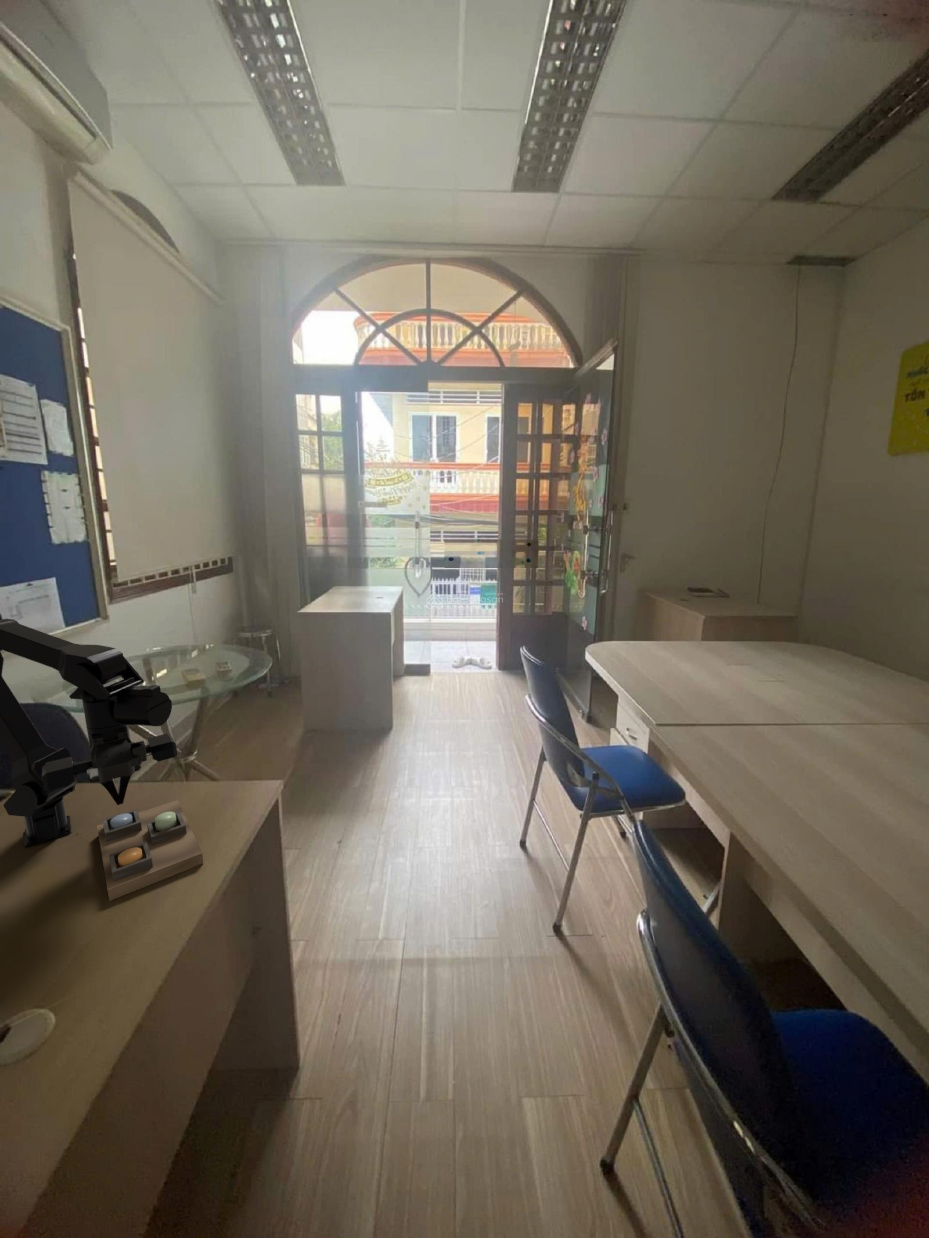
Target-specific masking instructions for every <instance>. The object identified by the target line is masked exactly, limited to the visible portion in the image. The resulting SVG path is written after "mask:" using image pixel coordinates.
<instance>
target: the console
mask: <svg viewBox="0 0 929 1238" xmlns="http://www.w3.org/2000/svg"><path fill="white" fill-rule="evenodd" d="M165 812H174V813H175V814H176V821H177V823H176V825H175V826H174V827H172V828H170V829H168V830H164V831H159V830H156V826H155V818H156V817H157V816H158V815H160V814H162V813H165ZM125 813H129V814H131V815H132V820H133V823H132V824H129V825H126V826H123V827H119V828H116V829H113V830H111V823H110V821H111V819H112V818H114V817H116V816H118V815H120V814H125ZM96 827H97V828H96V829H97V836H98V840H99V846H100V852H101V853H100V854H101V859H102V863H103V870H104V877H105V882H106V890H107V894H108V896H107V897H108V901H109V902H110V901H111V902H112V901H113V900H115V899H118V898H121V897H123V896H126V895H128V894H130V893H133V892H135V891H138V890H141V889H143V888H147V886H150V885H153V884H156V883H159V882H161V881H162V880H166V879H168V878H171V877H173V876H176V875H178V874H181V873H182V872H185V871H189V870H190V869H193V868H195V867H198V866H201V865H202V864H204V858H203V857H204V856H203V852H202V850H201V847H200V845H199V843H198V841H197V839H196V836H195V834H194V832H193V830H192V828H191V825H190V823H189V820H188V819H187V817H186V814H185V813H184V810H183V808H182V805H181V803H180V802H179V800H178V799H177V800H174V801H170V802H168V803H165V804H161V805H158V806H155V807H152V808H149V809H146V810H142V811H138V809H137V808H135V809H132V810H129V811H125V812H122V813H119V814H116V815H112V816H110V817H107V818H104V819H102V823H100V824H98V825H96ZM135 847H138V848H141V849H142V856H143V859H142V860H139V861H137V862H134V863H131V864H129V865H126V866H123V867H120V868H119V862H118V856H119V855H120V853H122V852H123V851H125V850H127V849H130V848H135Z"/></svg>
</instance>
